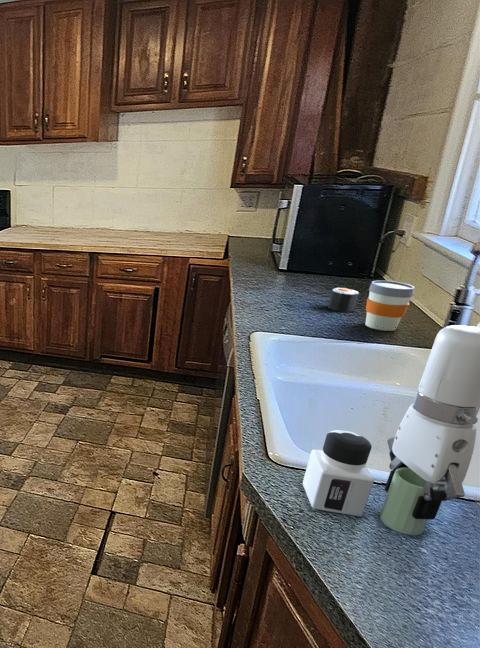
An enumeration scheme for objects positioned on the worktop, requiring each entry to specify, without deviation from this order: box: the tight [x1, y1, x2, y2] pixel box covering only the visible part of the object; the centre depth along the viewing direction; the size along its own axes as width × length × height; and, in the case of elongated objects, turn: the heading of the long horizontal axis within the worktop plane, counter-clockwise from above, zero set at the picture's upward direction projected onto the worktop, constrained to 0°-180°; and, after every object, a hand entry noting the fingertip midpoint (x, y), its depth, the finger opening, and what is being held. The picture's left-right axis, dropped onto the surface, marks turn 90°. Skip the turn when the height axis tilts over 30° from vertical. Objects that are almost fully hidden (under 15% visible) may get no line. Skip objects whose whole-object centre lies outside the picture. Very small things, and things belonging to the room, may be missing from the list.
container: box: [302, 429, 375, 518], centre depth 91 cm, size 8×8×13 cm
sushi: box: [327, 286, 360, 313], centre depth 203 cm, size 8×8×8 cm
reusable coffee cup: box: [364, 280, 416, 332], centre depth 182 cm, size 13×13×15 cm
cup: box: [379, 468, 438, 536], centre depth 86 cm, size 6×6×9 cm
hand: (408, 503), depth 87 cm, fingers closed on cup, 6 cm apart
